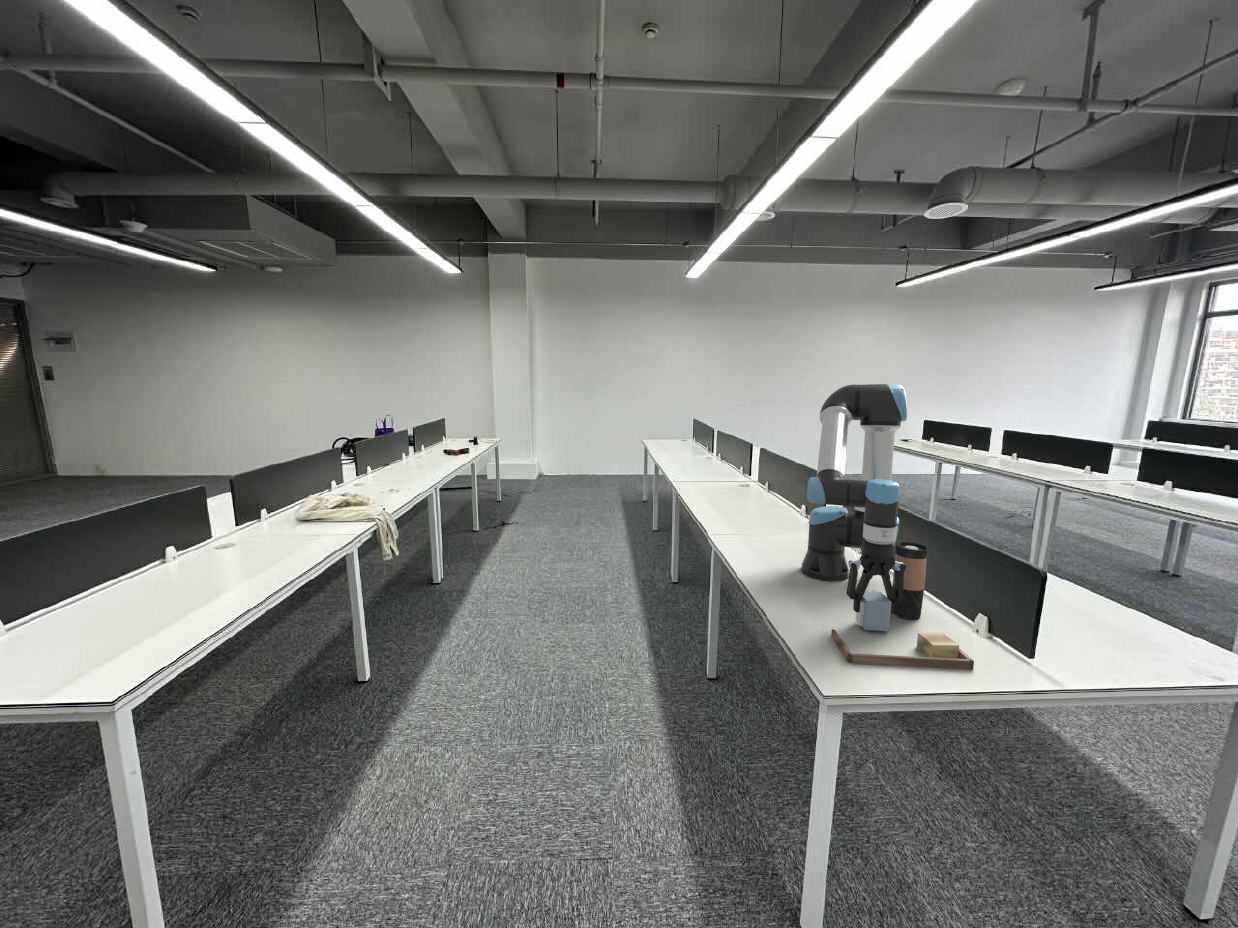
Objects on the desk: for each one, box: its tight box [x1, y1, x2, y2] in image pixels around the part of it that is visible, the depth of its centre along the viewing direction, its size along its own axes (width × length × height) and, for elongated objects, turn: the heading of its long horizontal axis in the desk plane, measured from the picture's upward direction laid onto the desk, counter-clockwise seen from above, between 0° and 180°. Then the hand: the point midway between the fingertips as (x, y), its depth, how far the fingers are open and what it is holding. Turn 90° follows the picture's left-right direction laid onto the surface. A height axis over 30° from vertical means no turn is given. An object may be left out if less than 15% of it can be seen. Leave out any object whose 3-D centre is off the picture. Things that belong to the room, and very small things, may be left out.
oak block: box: [916, 631, 960, 659], centre depth 116 cm, size 6×6×4 cm
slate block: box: [861, 590, 891, 632], centre depth 128 cm, size 6×6×8 cm
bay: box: [830, 629, 975, 670], centre depth 117 cm, size 12×27×2 cm, turn 84°
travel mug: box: [891, 541, 928, 621], centre depth 135 cm, size 8×8×20 cm
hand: (872, 623), depth 128 cm, fingers closed on slate block, 6 cm apart
